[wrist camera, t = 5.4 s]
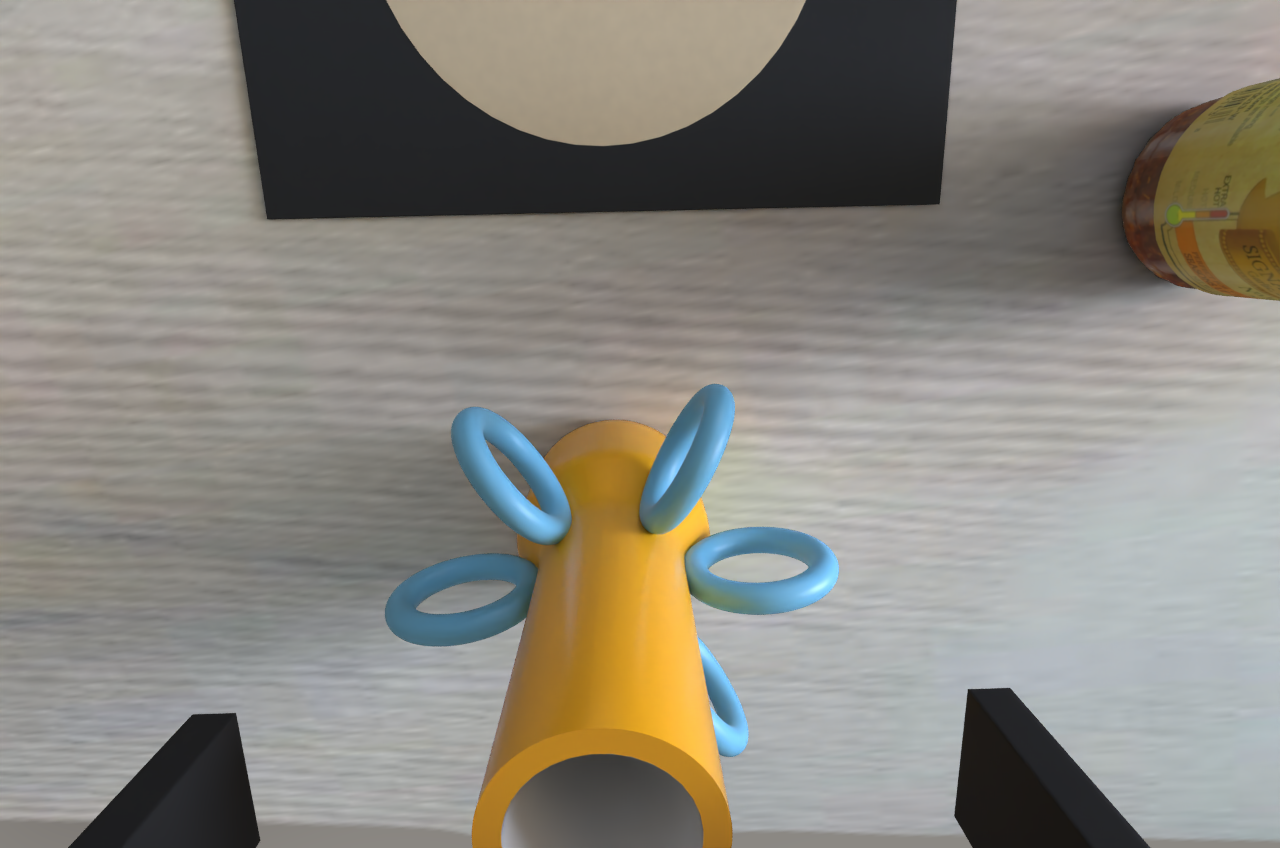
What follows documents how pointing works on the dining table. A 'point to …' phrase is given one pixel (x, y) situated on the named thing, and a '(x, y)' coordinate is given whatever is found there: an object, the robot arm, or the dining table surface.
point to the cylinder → (608, 629)
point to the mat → (595, 104)
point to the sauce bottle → (1212, 196)
